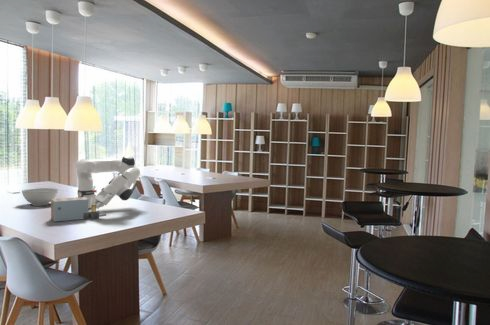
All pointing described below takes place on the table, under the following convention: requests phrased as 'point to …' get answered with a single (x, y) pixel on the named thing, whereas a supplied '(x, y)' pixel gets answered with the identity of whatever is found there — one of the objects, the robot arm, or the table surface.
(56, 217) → the cabinet door
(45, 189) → the decorative bowl
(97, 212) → the grey hollow ring
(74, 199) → the cabinet
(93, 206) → the hinge pin
